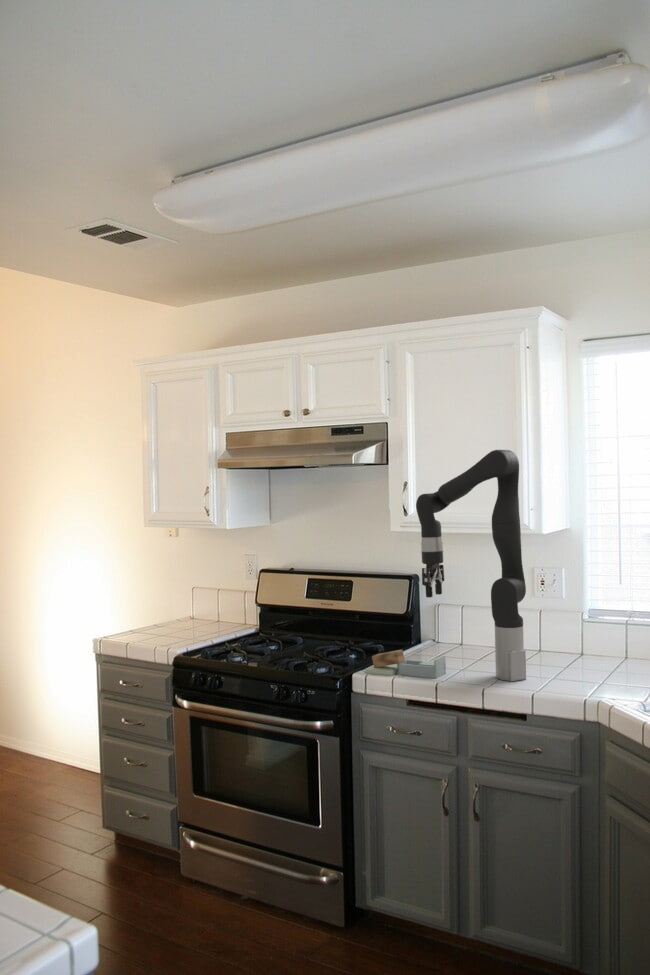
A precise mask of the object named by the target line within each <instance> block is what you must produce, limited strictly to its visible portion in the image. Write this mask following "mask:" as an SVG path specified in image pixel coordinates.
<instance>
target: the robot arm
mask: <svg viewBox="0 0 650 975" xmlns="http://www.w3.org/2000/svg"><path fill="white" fill-rule="evenodd" d="M519 475H520V461H519V458H518V456H517V454H516V452H514V451H512V450H509V449H494V450H491V451H490V452H489V453H487V454H486V455H484V456H483V457H482V458H481V459H480V460H478V462H476V463H475V464H473V465H472V466H471V467H470V468H468V469H467V470H465V471H464V472H462V473H460V474H459V475H458V476H455V477H454V478H452V479H450V480H448V481H447V482H445V483H442V485H440V486H439V488H438V489H437V491H435V492H432V493H431V492H430V493H422V494H420V495H419V496H418V497H417V498H416V501H415V508H416V513H417V517H418V520H419V523H420V529H421V531H420V532H421V533H420V534H421V539H420V540H421V541H420V547H421V549H420V550H421V552H420V553H421V563H422V564H423V565H425V566H426V567H422V568H421V585H422V586H424V587H425V597H426V598H433V594H434V593H433V584H434V583H435V584H434V588H435V589H434V590H435V595H442V594H443V586H442V584H443V582H445V570H444V568H445V567H444V564H443V563H444V548H443V544H444V543H443V539H442V524H441V522H440V521H439V520H437V519H436V518H435V514H437V513H439V512H441V511H443V510H445V509H446V508H448V507H449V506H450V505H451V504H452V503H454V502H456V501H458V500H460V499H461V498H463V497H465V496H466V495H468V494H469V493H470V492H471V491H472V490H473V489H474V488H475V487H477V486H478V485H479V484H482V483H484V482H486V481H489V480H491V479H494V478H496V480H497V489H498V490H497V496H496V500H495V503H494V507H493V509H492V514H491V533H492V540H493V543H494V546H495V548H496V551H497V553H498V556H499V559H500V562H501V565H500V566H501V578H498V579H496V580H495V581H494V582H493V583H492V584H491V589H490V601H491V602H490V603H491V605H490V606H491V615H492V618H493V621H494V646H495V647H494V649H495V650H494V654H495V655H494V656H495V657H494V658H495V678H496V679H498V680H502V681H509V682H516V681H523V680H526V679H527V661H526V660H527V657H526V655H527V654H526V649H525V646H524V639H525V638H524V618H523V617H522V616H521V615H520V612H519V606H518V605H519V603H521V602H522V601H523V600H524V598H525V596H526V594H527V593H526V592H527V589H526V588H527V587H526V580H525V575H524V574H525V573H524V568H523V559H522V558H523V557H522V556H523V554H522V541H521V540H522V537H521V536H522V534H521V518H520V502H519V501H520V498H519V483H520V482H519V481H520V480H519V479H520V476H519Z"/></svg>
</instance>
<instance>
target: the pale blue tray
mask: <svg viewBox="0 0 650 975" xmlns="http://www.w3.org/2000/svg"><path fill="white" fill-rule="evenodd" d="M396 665H397V673H396V675H401V676H408V677H410V676H411V677H417V678H419V677H420V678H428V679H438V678H440V677H442V676H443V675H446V674H447V669H446V668H447V666H446V655H442V656H440V657H438V658H436V659H434V660H423V661H422V660H413V659H405V661H404V662H401V663H399V664H396Z"/></svg>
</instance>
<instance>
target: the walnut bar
mask: <svg viewBox="0 0 650 975" xmlns="http://www.w3.org/2000/svg"><path fill="white" fill-rule="evenodd" d="M371 659H372V660H371V661H372V664H373V666H374V668H377V667H382V666H388V665H397V664H399V663H401V662H404V661H405V660H406V658H405V655H404V650H403V649H397V650H391V651H386V652H383V653H382V652H381V653H377V654H374V655H372V656H371Z"/></svg>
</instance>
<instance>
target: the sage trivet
mask: <svg viewBox="0 0 650 975" xmlns="http://www.w3.org/2000/svg"><path fill="white" fill-rule="evenodd" d="M364 670H365V671H364V673H366V674H373V675H374V674H375V675H384V676H394V675H395V674H396V675H397V664H393V665H388V666H382V667H377V668H374V665H372V666H369V667H367V668H365V669H364Z"/></svg>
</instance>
